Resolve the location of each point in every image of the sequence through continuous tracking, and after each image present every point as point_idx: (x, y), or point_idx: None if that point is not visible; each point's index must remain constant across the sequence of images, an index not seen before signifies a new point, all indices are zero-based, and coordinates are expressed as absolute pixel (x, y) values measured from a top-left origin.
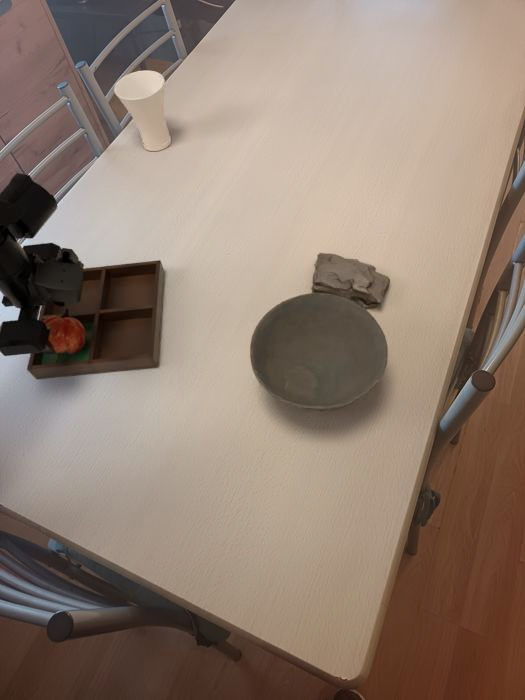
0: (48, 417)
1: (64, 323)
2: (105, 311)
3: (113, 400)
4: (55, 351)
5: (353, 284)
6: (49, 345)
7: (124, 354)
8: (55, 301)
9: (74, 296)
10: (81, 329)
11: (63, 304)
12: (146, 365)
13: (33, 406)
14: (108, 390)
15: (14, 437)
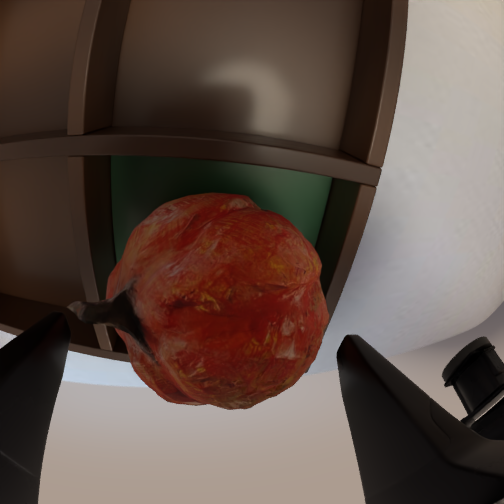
0: (411, 290)
1: (201, 329)
2: (79, 104)
3: (444, 123)
4: (352, 336)
5: None
6: (415, 396)
7: (306, 43)
8: (55, 364)
9: None
10: (204, 214)
11: (57, 321)
12: None
13: (368, 324)
14: (414, 130)
15: (410, 340)
